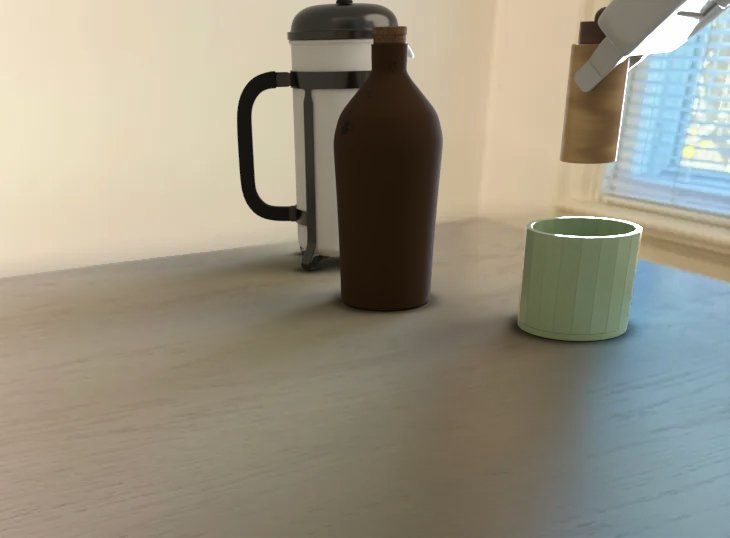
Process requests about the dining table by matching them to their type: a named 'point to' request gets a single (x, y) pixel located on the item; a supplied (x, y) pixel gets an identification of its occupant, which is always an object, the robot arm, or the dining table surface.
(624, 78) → the pepper mill
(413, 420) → the dining table surface
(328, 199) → the coffee press
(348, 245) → the olive oil
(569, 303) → the cup
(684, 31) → the robot arm
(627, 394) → the dining table surface
